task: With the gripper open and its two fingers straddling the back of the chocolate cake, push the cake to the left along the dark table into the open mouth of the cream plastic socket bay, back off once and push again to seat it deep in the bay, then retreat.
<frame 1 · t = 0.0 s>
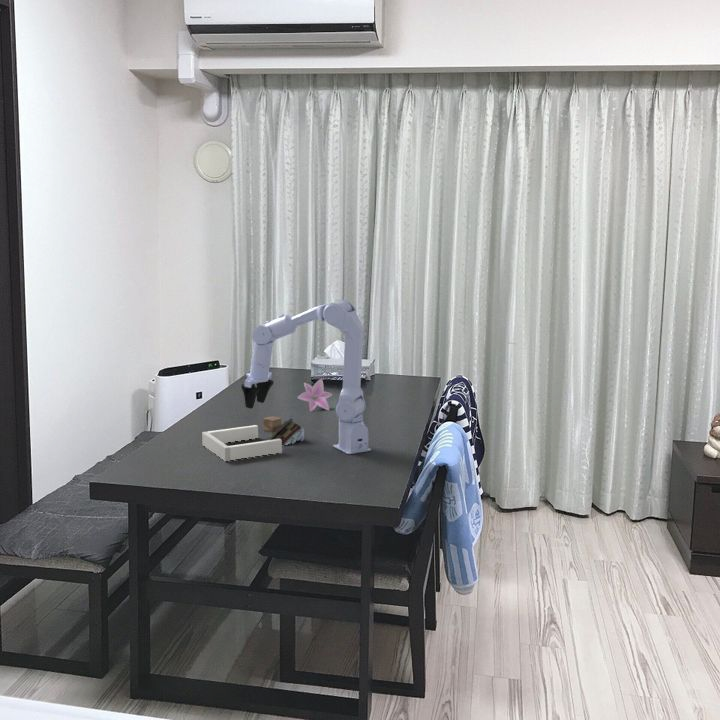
hand: (254, 404, 261), 11 cm above the table, tool pointing down, fingers open, 7 cm apart
walnut block: (272, 430, 272), on the table
socket bay: (243, 448, 251), on the table
lily: (315, 409, 300), on the table
chocolate cake: (288, 443, 259), on the table
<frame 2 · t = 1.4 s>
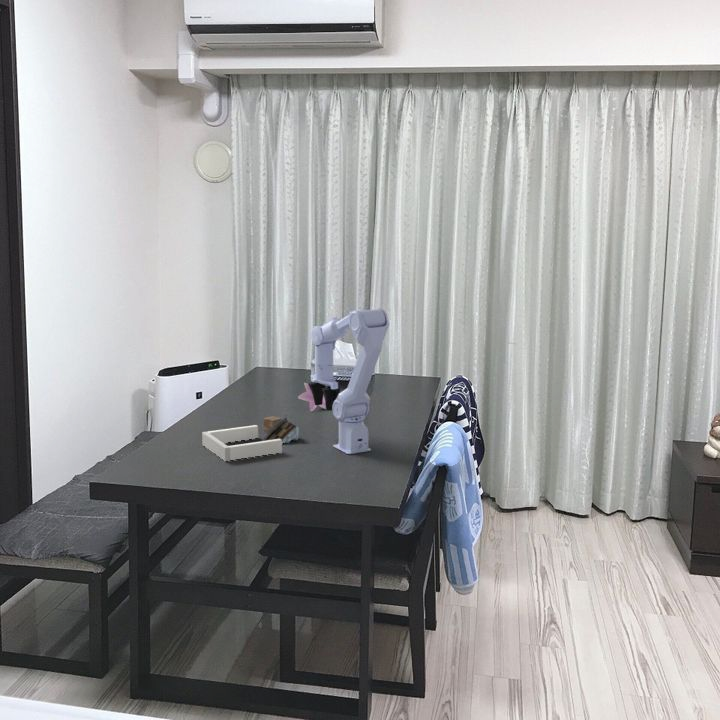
hand: (324, 407, 263), 9 cm above the table, tool pointing down, fingers open, 7 cm apart
chocolate cake: (283, 442, 260), on the table
everything else where it was.
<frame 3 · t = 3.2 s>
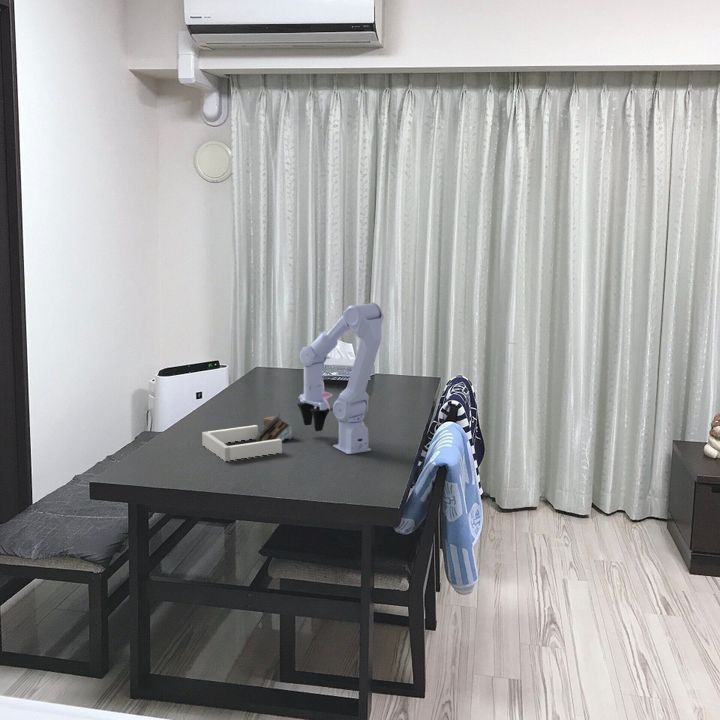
hand: (313, 427, 262), 3 cm above the table, tool pointing down, fingers open, 7 cm apart
chocolate cake: (276, 441, 261), on the table
everything else where it was.
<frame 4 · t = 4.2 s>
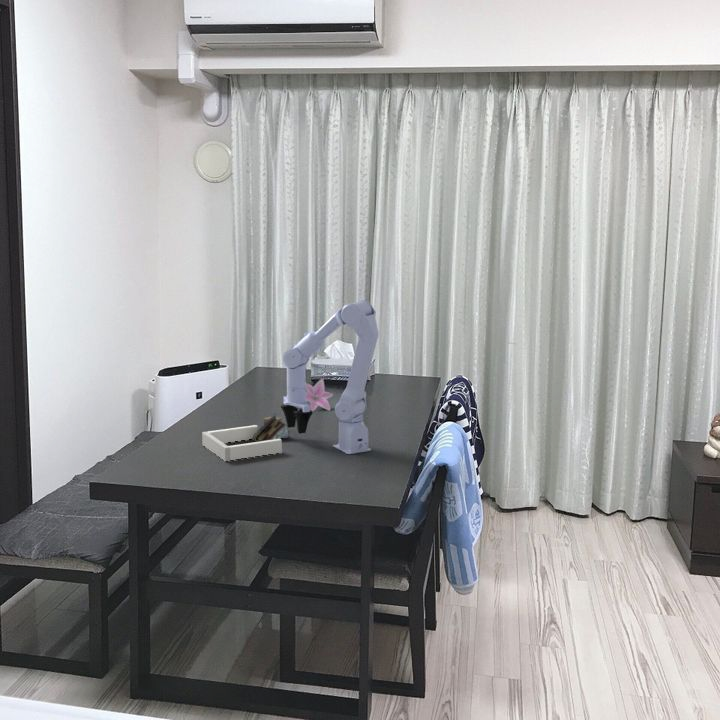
hand: (296, 430, 259), 3 cm above the table, tool pointing down, fingers open, 7 cm apart
chocolate cake: (272, 440, 262), on the table, touching gripper
everything else where it was.
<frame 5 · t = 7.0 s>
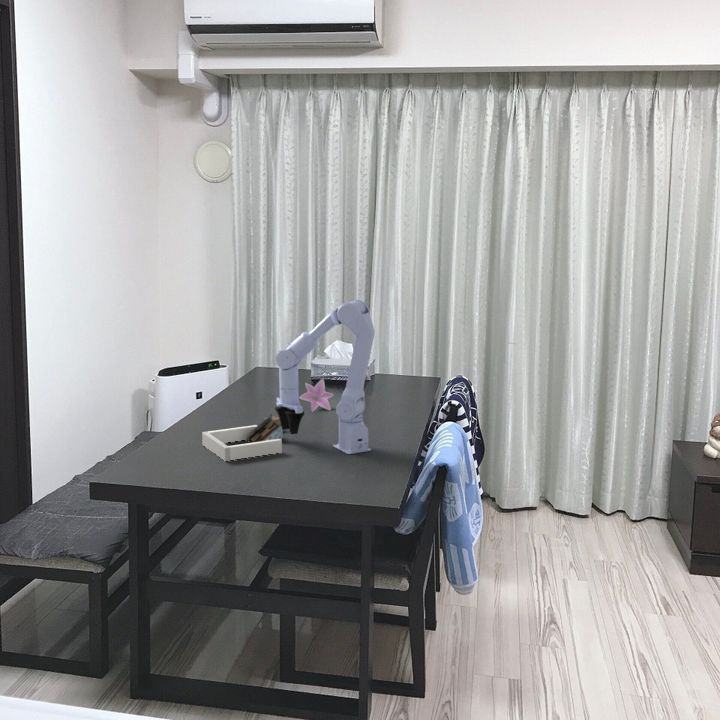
hand: (289, 431, 258), 3 cm above the table, tool pointing down, fingers open, 5 cm apart
chocolate cake: (266, 442, 260), on the table, touching gripper, socket bay
everything else where it was.
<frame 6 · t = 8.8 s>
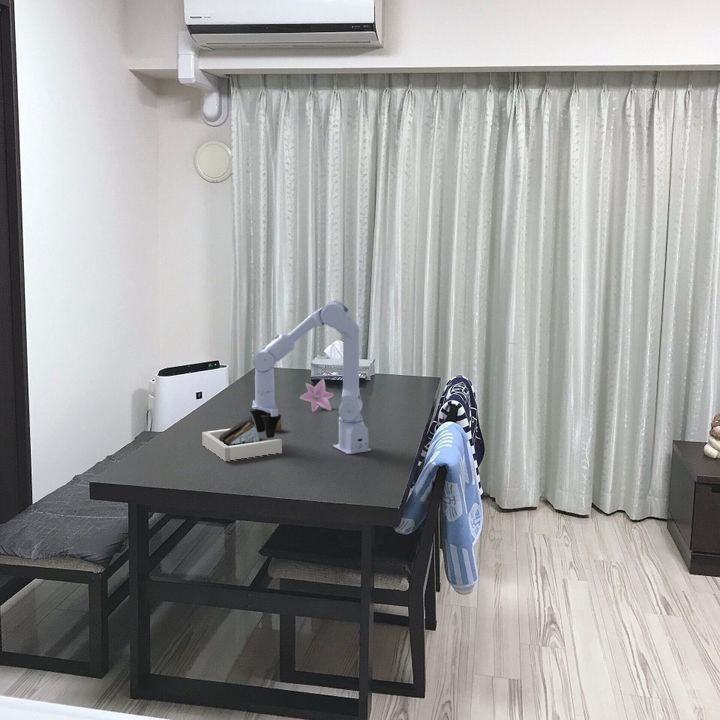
hand: (265, 434, 254), 3 cm above the table, tool pointing down, fingers open, 6 cm apart
chocolate cake: (242, 443, 255), on the table, touching gripper, socket bay
everything else where it was.
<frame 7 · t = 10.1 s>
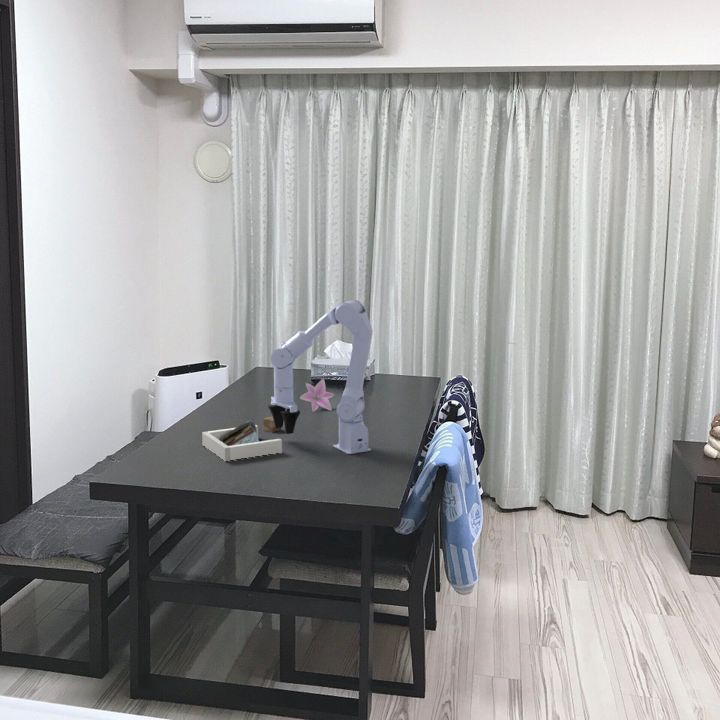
hand: (284, 430, 257), 4 cm above the table, tool pointing down, fingers open, 7 cm apart
chocolate cake: (241, 446, 255), on the table
everything else where it was.
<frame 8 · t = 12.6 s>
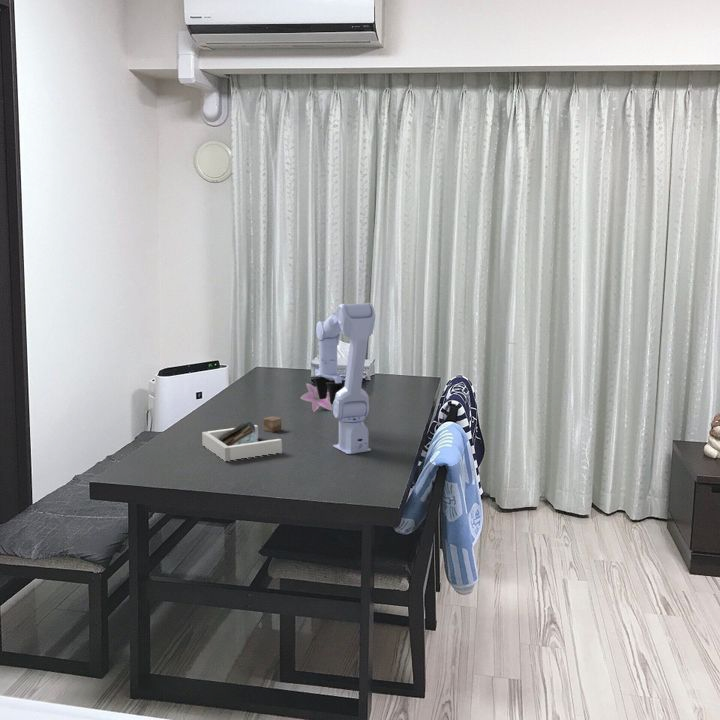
hand: (328, 401, 269), 10 cm above the table, tool pointing down, fingers open, 7 cm apart
at the end: chocolate cake inside the target area (4.3 cm from its centre), on the table; chocolate cake tilted 0°; the gripper is holding nothing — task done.
